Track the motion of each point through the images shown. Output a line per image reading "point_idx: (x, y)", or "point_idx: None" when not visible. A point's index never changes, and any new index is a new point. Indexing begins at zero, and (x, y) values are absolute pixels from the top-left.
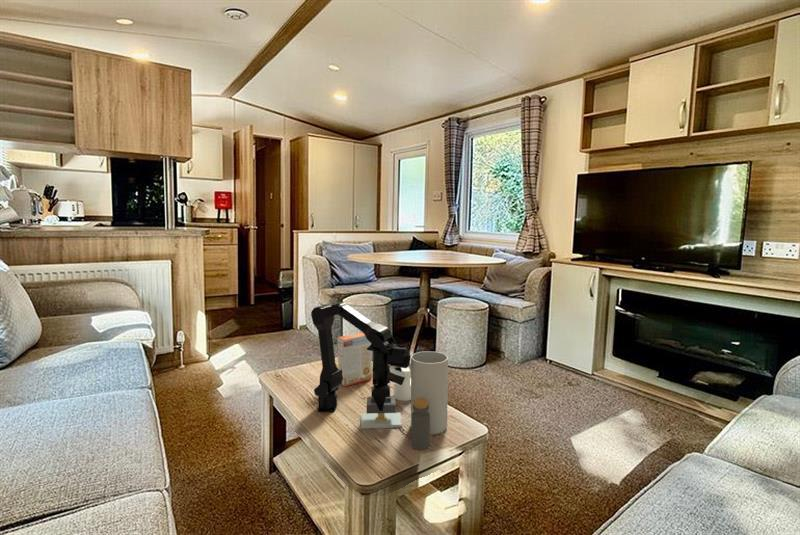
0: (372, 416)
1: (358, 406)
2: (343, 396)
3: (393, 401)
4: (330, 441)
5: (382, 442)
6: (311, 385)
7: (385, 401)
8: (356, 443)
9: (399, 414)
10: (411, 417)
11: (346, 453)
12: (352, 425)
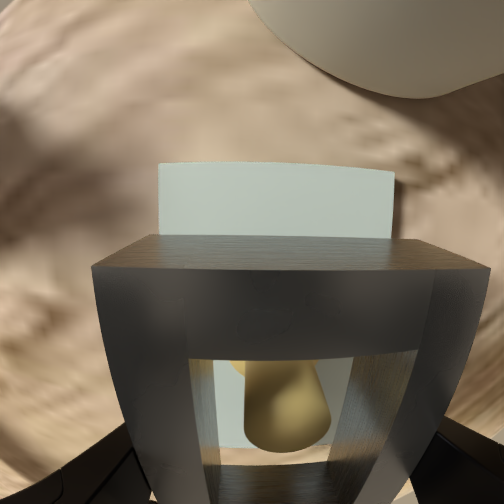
0: (227, 397)
1: (76, 427)
2: (21, 447)
3: (372, 309)
4: (407, 482)
5: (499, 305)
6: (10, 485)
7: (204, 397)
8: (462, 411)
9: (195, 172)
10: (458, 78)
11: (494, 418)
12: (300, 462)
